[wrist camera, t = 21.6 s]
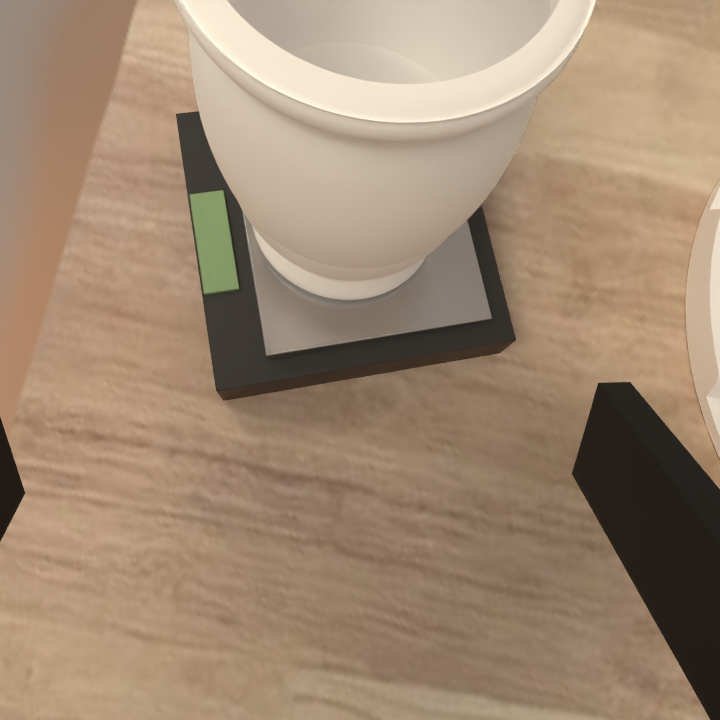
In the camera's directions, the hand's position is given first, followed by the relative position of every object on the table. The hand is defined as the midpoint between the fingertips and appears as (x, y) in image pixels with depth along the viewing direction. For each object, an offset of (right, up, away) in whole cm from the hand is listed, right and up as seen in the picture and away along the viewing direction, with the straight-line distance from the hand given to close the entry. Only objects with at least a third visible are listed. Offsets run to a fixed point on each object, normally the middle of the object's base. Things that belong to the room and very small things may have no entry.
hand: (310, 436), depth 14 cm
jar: (0, +8, +15) cm, 17 cm away
